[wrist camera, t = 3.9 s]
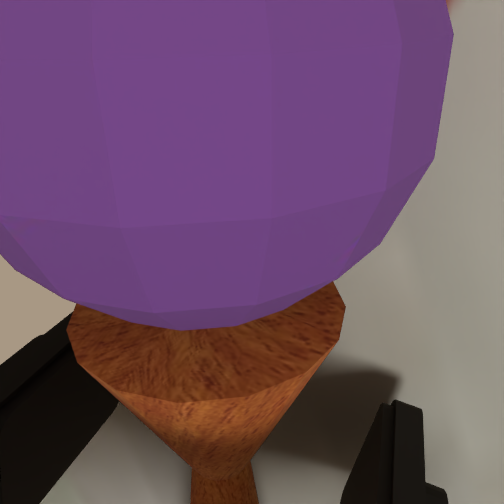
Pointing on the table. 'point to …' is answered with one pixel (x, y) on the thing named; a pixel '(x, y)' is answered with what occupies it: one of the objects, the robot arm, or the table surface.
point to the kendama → (210, 192)
